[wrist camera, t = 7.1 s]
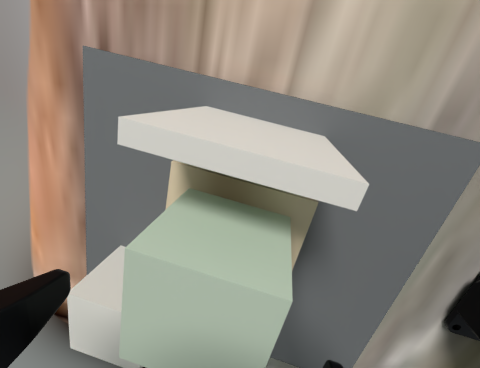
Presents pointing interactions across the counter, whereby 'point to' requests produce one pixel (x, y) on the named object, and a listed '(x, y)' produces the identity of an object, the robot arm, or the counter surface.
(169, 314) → the sage cube
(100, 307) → the cream cube
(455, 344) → the counter surface
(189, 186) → the oak base block
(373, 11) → the counter surface
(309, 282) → the mat
